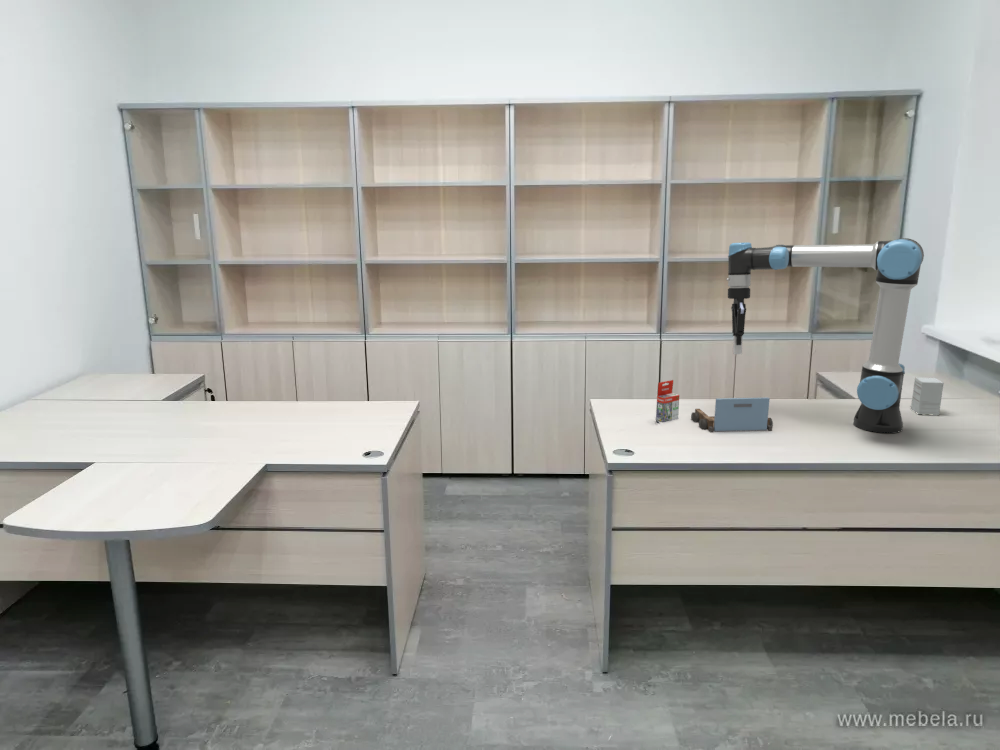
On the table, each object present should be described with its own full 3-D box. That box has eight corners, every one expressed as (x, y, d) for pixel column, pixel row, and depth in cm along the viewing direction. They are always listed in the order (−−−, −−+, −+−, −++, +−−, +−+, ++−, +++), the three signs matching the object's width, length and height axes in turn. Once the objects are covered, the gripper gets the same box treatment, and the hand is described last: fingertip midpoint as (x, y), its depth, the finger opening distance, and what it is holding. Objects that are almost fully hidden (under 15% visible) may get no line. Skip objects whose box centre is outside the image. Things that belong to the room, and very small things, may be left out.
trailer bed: (689, 420, 254) (690, 408, 253) (756, 419, 256) (757, 407, 255) (705, 435, 239) (706, 422, 238) (776, 433, 240) (777, 420, 239)
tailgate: (713, 432, 240) (715, 398, 237) (765, 431, 242) (768, 397, 239) (714, 433, 239) (717, 399, 236) (766, 432, 240) (769, 398, 237)
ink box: (678, 421, 254) (681, 381, 250) (662, 425, 249) (665, 384, 246) (670, 418, 257) (673, 379, 253) (655, 422, 252) (657, 382, 249)
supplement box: (931, 410, 267) (936, 377, 264) (939, 416, 260) (944, 382, 257) (909, 409, 268) (914, 376, 265) (917, 415, 261) (922, 381, 258)
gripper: (724, 287, 257) (723, 352, 260) (731, 288, 244) (730, 356, 248) (746, 286, 256) (744, 351, 259) (754, 287, 243) (752, 356, 247)
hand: (737, 353), depth 253 cm, fingers closed
